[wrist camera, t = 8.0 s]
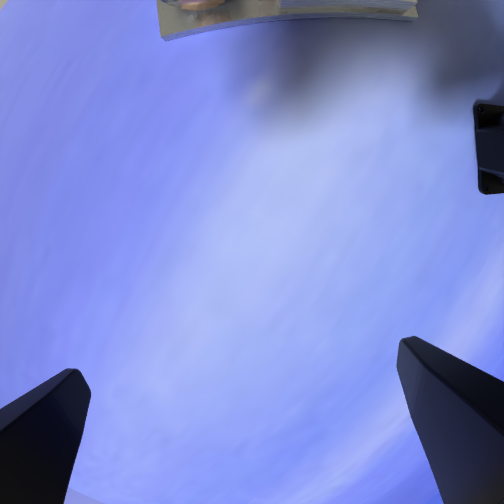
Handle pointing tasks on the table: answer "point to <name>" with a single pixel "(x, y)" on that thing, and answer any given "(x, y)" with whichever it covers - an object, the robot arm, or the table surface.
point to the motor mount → (269, 12)
